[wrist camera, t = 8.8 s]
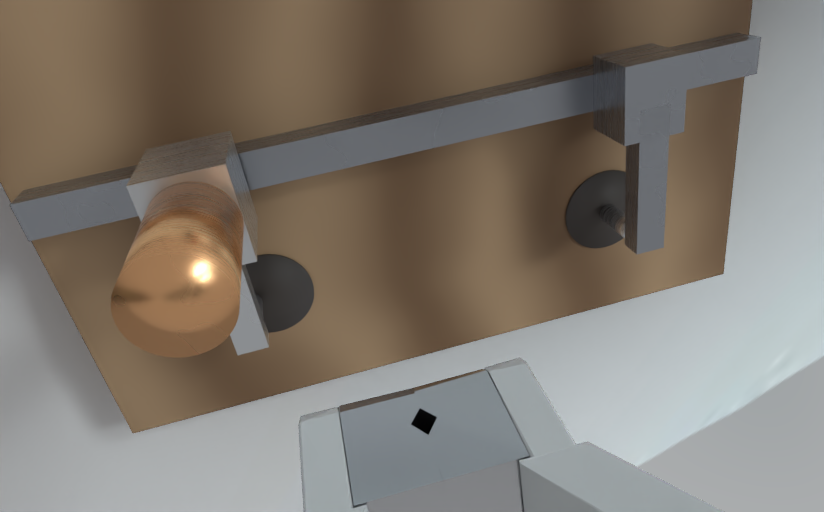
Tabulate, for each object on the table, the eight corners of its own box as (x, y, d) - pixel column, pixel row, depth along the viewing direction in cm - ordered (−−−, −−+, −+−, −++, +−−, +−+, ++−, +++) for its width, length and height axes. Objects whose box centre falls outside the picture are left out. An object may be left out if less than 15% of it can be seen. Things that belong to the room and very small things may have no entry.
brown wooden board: (727, -164, 20) (773, -174, 18) (694, 253, 28) (724, 274, 26) (-68, -21, 17) (-107, -16, 16) (141, 399, 25) (132, 435, 23)
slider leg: (232, 120, 19) (214, 231, 12) (288, 301, 22) (302, 475, 15) (152, 137, 18) (85, 262, 11) (221, 319, 22) (203, 504, 15)
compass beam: (738, 14, 21) (810, 26, 18) (721, 188, 24) (781, 220, 21) (14, 171, 18) (-30, 213, 16) (102, 344, 21) (79, 404, 19)
